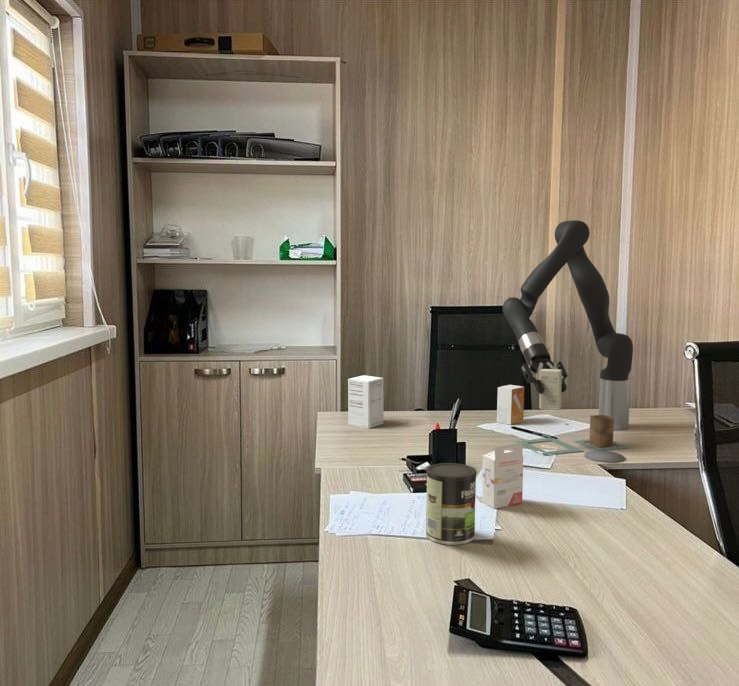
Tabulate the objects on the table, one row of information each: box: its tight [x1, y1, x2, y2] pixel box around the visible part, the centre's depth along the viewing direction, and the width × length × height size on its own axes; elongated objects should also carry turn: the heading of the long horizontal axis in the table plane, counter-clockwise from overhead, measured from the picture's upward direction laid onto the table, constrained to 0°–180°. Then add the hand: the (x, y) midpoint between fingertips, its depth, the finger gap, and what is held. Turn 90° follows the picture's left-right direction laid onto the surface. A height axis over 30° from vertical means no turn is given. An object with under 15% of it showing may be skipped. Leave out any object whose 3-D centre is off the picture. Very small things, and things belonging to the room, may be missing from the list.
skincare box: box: [538, 369, 563, 411], centre depth 207 cm, size 6×4×12 cm
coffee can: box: [425, 462, 477, 546], centre depth 139 cm, size 10×10×14 cm
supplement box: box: [347, 375, 384, 430], centre depth 237 cm, size 10×9×17 cm
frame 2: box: [572, 438, 631, 451], centre depth 211 cm, size 12×12×1 cm
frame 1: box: [515, 437, 585, 456], centre depth 209 cm, size 14×16×1 cm
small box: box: [496, 384, 525, 426], centre depth 242 cm, size 8×6×13 cm
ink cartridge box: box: [481, 442, 524, 509], centre depth 158 cm, size 9×5×15 cm, turn 118°
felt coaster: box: [584, 450, 625, 464], centre depth 198 cm, size 11×11×1 cm
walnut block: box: [588, 414, 615, 448], centre depth 211 cm, size 5×5×9 cm
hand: (553, 391), depth 206 cm, fingers closed on skincare box, 7 cm apart
